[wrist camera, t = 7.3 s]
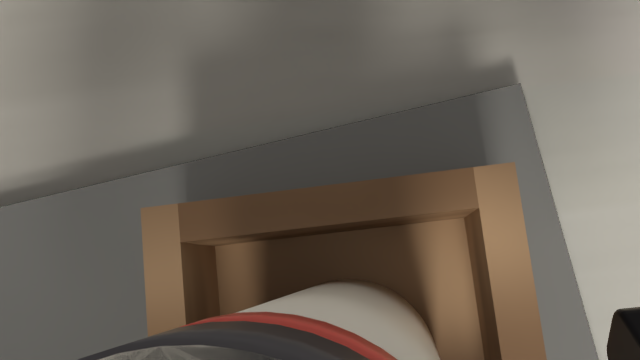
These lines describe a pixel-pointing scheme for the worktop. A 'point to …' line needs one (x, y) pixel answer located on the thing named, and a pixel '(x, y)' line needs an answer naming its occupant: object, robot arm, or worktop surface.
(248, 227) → the wooden tray
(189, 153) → the worktop surface
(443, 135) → the rubber mat
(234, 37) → the worktop surface
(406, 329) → the white lens
